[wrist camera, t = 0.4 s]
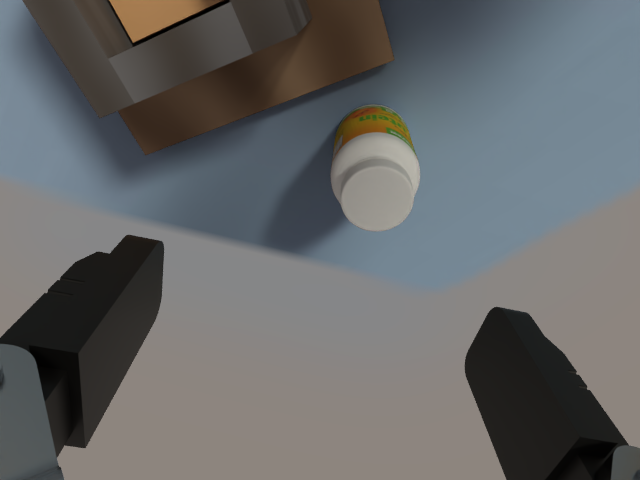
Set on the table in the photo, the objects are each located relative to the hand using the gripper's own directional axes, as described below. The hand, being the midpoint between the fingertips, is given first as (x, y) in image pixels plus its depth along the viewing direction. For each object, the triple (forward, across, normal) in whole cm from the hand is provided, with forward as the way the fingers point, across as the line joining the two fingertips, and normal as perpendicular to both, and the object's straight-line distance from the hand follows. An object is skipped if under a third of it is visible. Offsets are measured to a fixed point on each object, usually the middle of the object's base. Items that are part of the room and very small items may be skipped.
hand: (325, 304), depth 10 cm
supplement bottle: (+22, -4, +1) cm, 23 cm away
